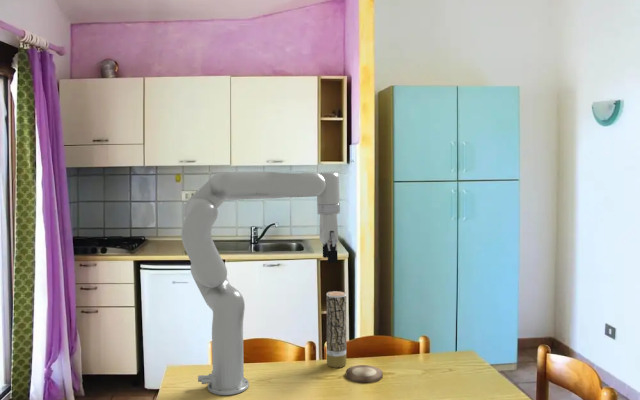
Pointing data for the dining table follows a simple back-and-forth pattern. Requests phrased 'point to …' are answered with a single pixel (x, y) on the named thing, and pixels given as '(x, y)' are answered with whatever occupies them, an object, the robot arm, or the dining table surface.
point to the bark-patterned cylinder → (336, 328)
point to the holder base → (364, 374)
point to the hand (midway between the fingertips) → (330, 259)
